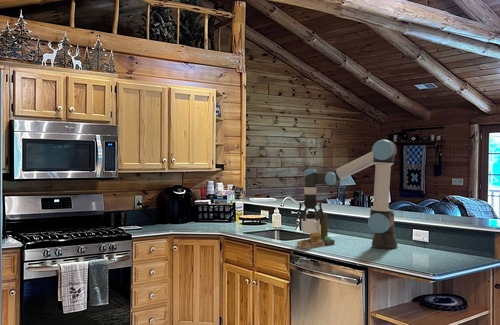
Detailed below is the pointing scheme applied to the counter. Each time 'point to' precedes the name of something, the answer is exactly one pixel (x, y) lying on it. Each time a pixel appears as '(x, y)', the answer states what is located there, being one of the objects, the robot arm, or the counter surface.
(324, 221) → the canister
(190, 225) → the counter surface
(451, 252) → the counter surface
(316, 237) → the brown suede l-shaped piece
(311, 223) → the medicine bottle
